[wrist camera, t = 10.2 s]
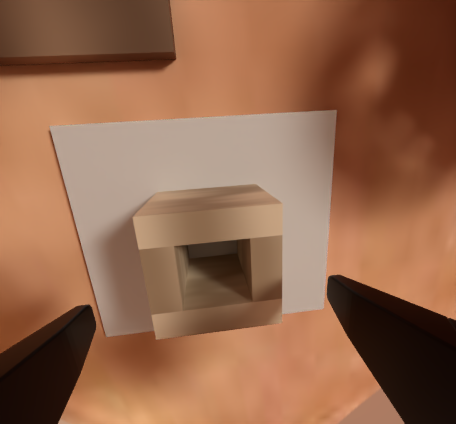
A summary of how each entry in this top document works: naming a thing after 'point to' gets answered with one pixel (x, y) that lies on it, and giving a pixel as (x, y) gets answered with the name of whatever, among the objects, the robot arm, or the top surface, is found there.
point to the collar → (211, 259)
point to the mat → (195, 179)
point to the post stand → (85, 31)
